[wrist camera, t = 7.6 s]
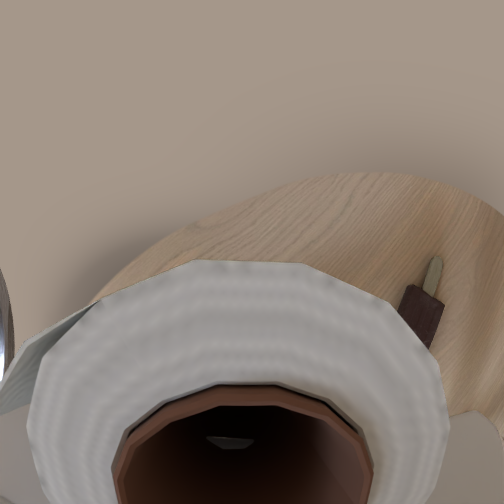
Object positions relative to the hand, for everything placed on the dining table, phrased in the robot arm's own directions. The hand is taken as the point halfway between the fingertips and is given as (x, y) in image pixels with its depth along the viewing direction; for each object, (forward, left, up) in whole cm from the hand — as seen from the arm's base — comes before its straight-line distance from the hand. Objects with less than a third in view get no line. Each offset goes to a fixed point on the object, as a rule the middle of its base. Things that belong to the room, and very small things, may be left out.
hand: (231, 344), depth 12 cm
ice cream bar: (+20, +1, -17) cm, 26 cm away
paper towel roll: (-1, -1, -12) cm, 12 cm away
